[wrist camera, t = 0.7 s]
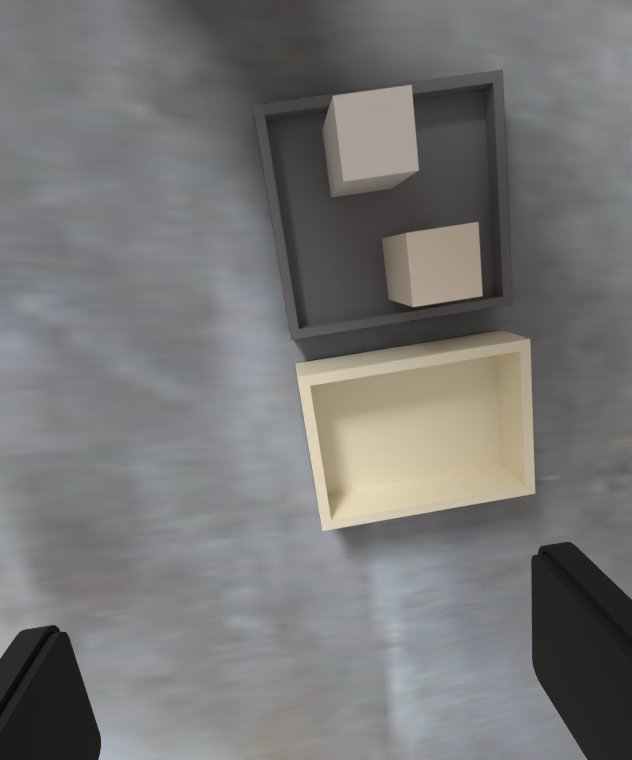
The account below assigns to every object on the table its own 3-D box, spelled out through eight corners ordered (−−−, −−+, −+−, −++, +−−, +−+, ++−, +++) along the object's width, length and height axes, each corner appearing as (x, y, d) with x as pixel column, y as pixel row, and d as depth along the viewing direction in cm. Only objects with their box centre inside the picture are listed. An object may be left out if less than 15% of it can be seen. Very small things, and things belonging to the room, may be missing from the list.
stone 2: (382, 238, 31) (405, 232, 25) (441, 229, 31) (478, 221, 25) (388, 299, 32) (412, 307, 26) (445, 290, 32) (482, 296, 26)
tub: (295, 363, 33) (297, 376, 29) (501, 330, 33) (530, 338, 29) (317, 501, 36) (322, 530, 32) (507, 469, 36) (535, 493, 32)
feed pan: (254, 114, 29) (252, 104, 27) (489, 81, 29) (502, 69, 28) (290, 335, 32) (291, 339, 31) (499, 302, 33) (512, 304, 31)
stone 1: (322, 129, 29) (332, 95, 23) (385, 120, 29) (411, 84, 23) (331, 197, 30) (343, 181, 24) (392, 188, 30) (419, 170, 24)
